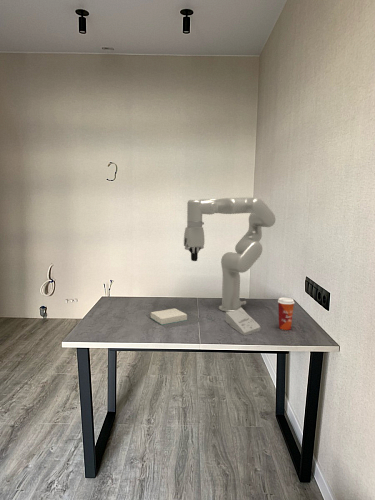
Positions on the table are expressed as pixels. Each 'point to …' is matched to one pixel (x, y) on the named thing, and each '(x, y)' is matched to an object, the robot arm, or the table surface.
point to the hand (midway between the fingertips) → (194, 260)
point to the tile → (168, 316)
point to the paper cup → (285, 313)
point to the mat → (190, 319)
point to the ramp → (242, 322)
